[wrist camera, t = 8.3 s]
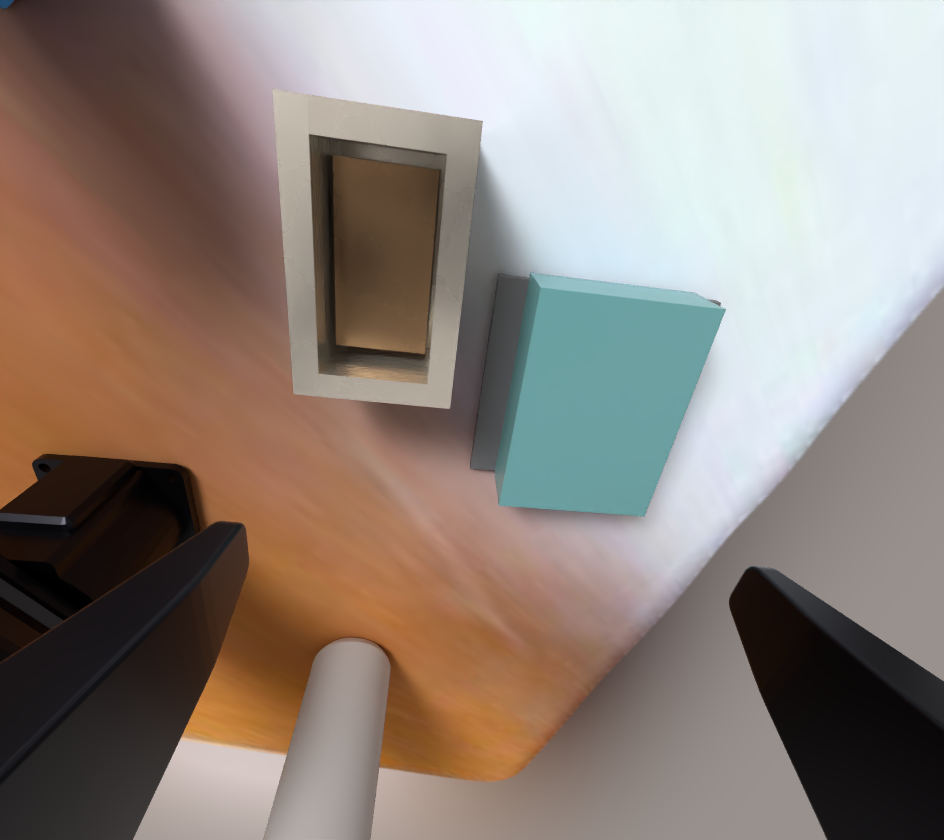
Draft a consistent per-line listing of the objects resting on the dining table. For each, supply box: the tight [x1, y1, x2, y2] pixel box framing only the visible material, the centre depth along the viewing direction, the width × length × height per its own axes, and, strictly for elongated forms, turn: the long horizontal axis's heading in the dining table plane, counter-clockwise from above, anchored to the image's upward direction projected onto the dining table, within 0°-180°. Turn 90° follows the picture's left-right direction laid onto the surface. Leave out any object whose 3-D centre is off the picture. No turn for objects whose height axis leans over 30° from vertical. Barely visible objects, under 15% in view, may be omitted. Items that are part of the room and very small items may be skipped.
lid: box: [495, 273, 726, 516], centre depth 19 cm, size 9×7×2 cm
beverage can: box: [263, 637, 391, 840], centre depth 24 cm, size 5×5×12 cm
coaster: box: [470, 274, 721, 471], centre depth 20 cm, size 9×9×1 cm
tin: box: [272, 89, 483, 409], centre depth 15 cm, size 8×5×5 cm, turn 173°
